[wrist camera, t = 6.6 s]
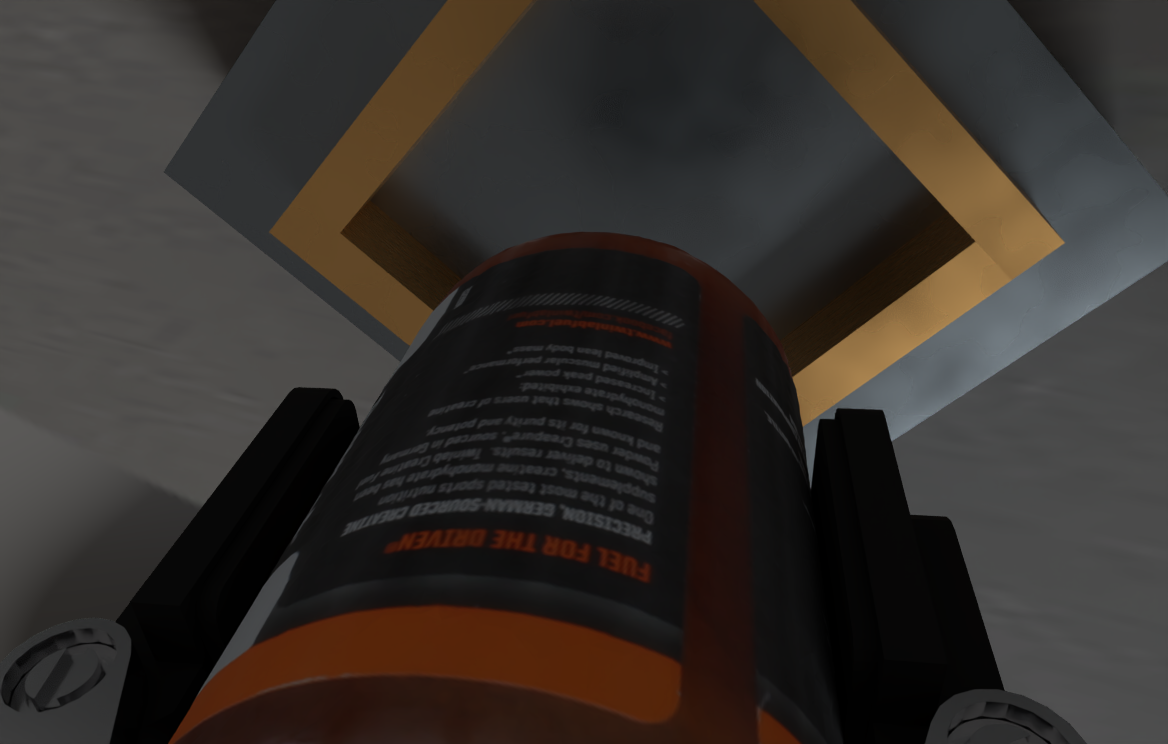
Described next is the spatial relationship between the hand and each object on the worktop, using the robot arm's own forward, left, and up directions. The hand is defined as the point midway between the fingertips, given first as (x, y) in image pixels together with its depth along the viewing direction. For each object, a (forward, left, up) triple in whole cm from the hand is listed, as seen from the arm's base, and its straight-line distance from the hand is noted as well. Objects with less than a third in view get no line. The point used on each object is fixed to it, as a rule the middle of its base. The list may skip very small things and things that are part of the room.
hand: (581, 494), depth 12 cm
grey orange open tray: (+2, 0, -16) cm, 16 cm away
